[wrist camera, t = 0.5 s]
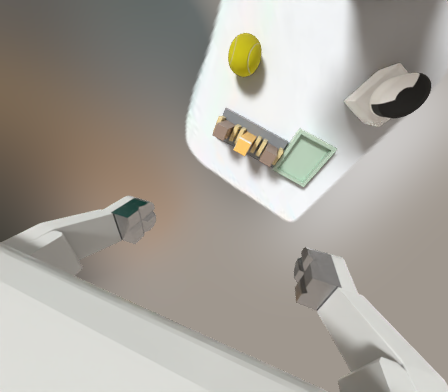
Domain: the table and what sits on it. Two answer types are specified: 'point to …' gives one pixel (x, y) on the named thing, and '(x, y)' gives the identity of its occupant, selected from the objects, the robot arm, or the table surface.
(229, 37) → the table surface
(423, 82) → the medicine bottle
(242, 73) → the tennis ball
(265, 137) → the holder
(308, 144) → the tray
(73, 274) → the robot arm
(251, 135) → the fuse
